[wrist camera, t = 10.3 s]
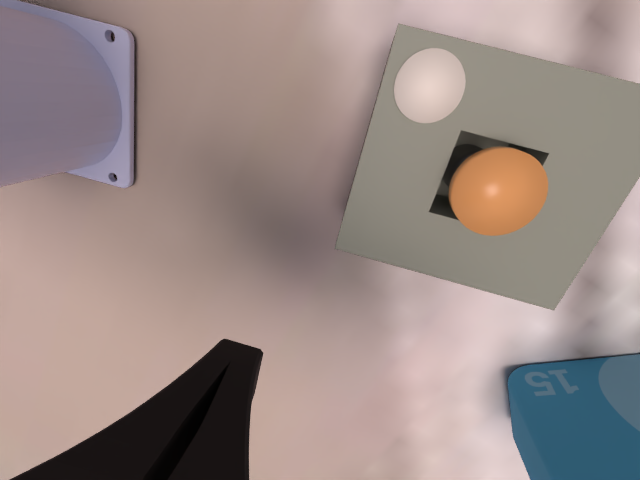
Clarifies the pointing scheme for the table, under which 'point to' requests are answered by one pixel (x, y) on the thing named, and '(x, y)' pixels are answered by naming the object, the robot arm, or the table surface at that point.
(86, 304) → the table surface
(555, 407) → the data package
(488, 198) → the button
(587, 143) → the cabinet
